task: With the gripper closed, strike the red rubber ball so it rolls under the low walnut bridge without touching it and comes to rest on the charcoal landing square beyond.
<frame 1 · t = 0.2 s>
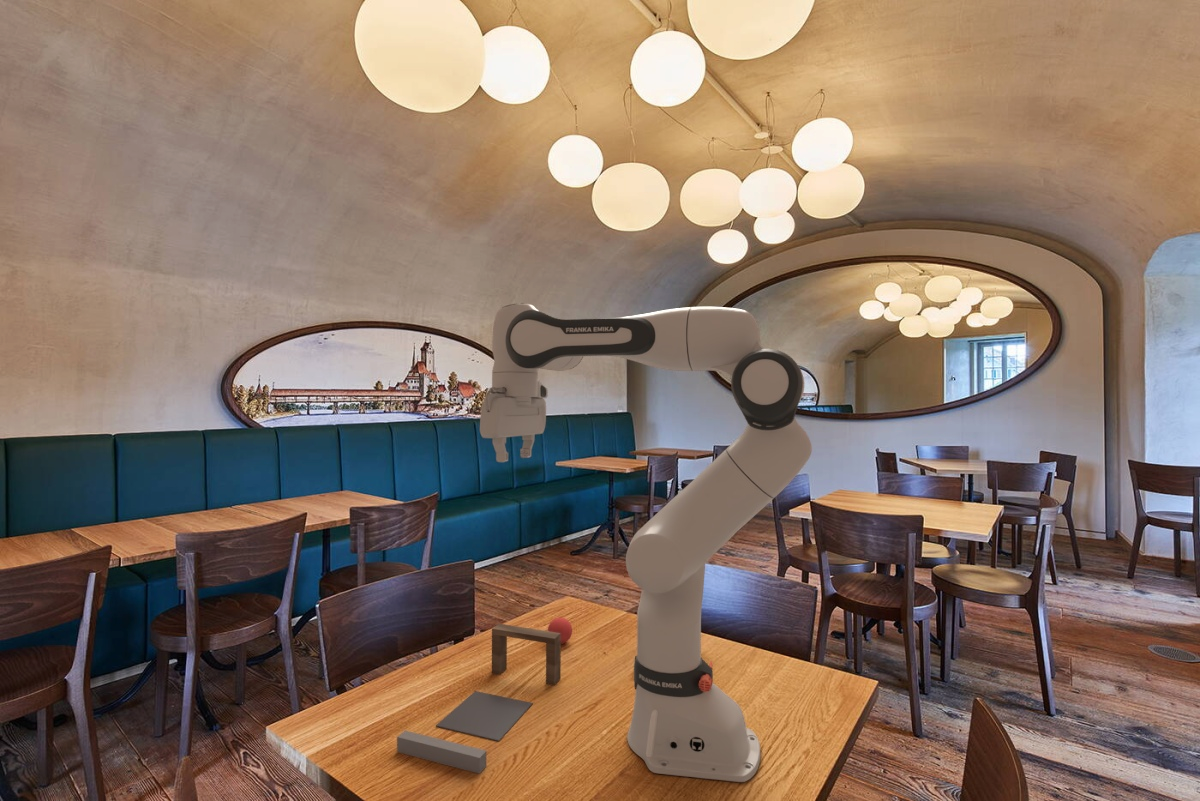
hand: (514, 459, 108), 48 cm above the table, tool pointing down, fingers open, 8 cm apart
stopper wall: (440, 758, 92), on the table
ball: (559, 630, 137), on the table
bridge: (525, 676, 120), on the table
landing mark: (486, 714, 105), on the table
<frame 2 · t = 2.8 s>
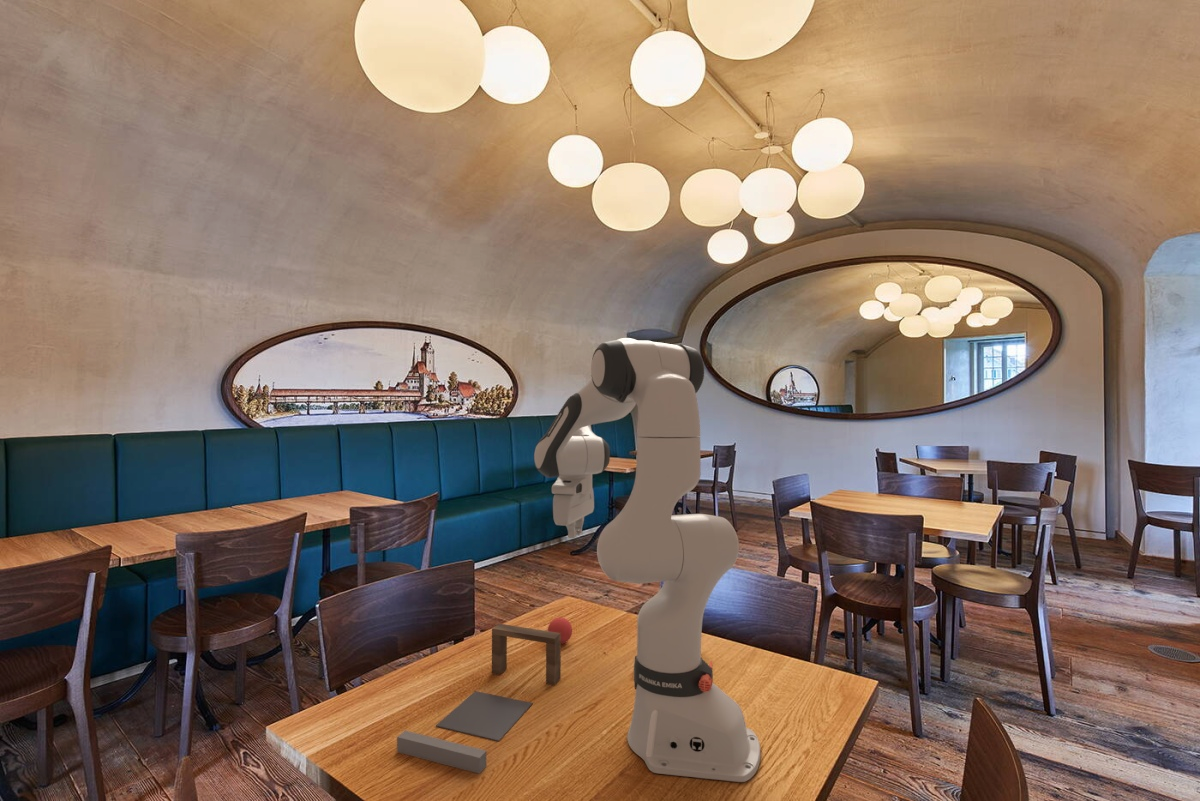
hand: (575, 536, 146), 24 cm above the table, tool pointing down, fingers open, 3 cm apart
nothing on the table moved.
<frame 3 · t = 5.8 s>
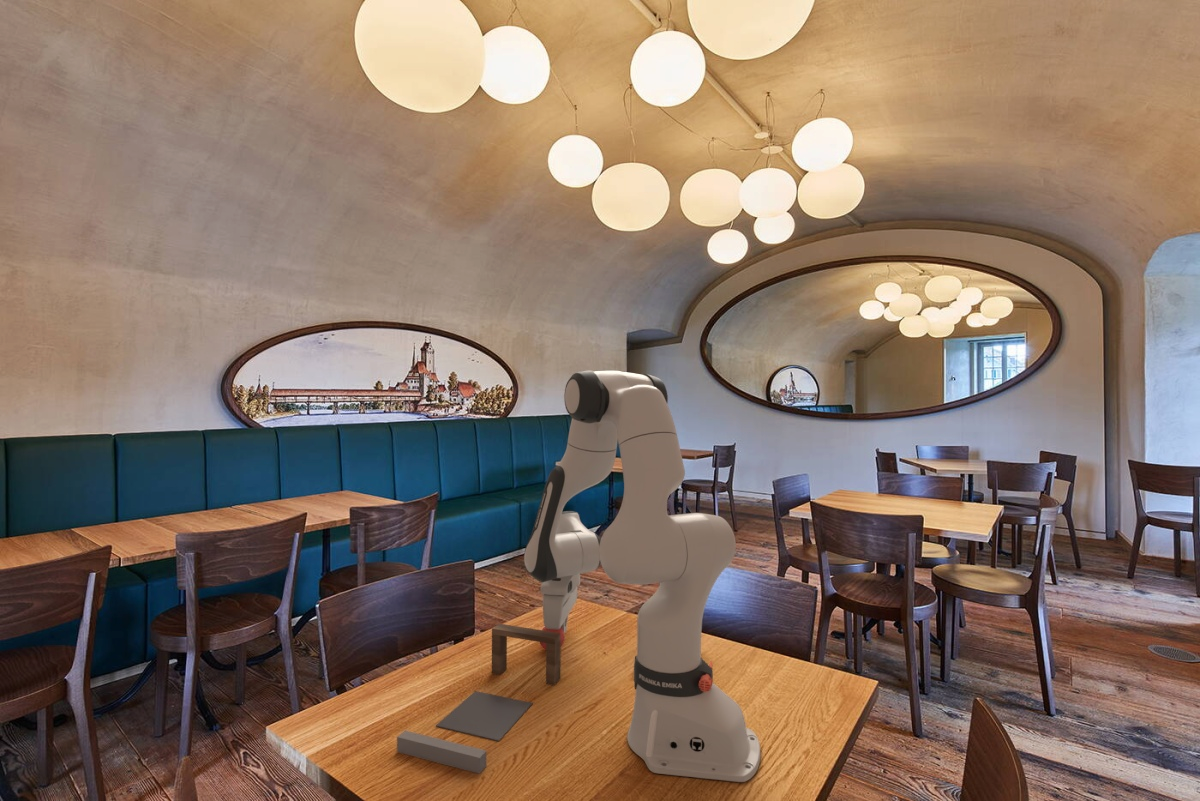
hand: (561, 633, 137), 2 cm above the table, tool pointing down, fingers closed
ball: (551, 637, 133), on the table
everything else where it was.
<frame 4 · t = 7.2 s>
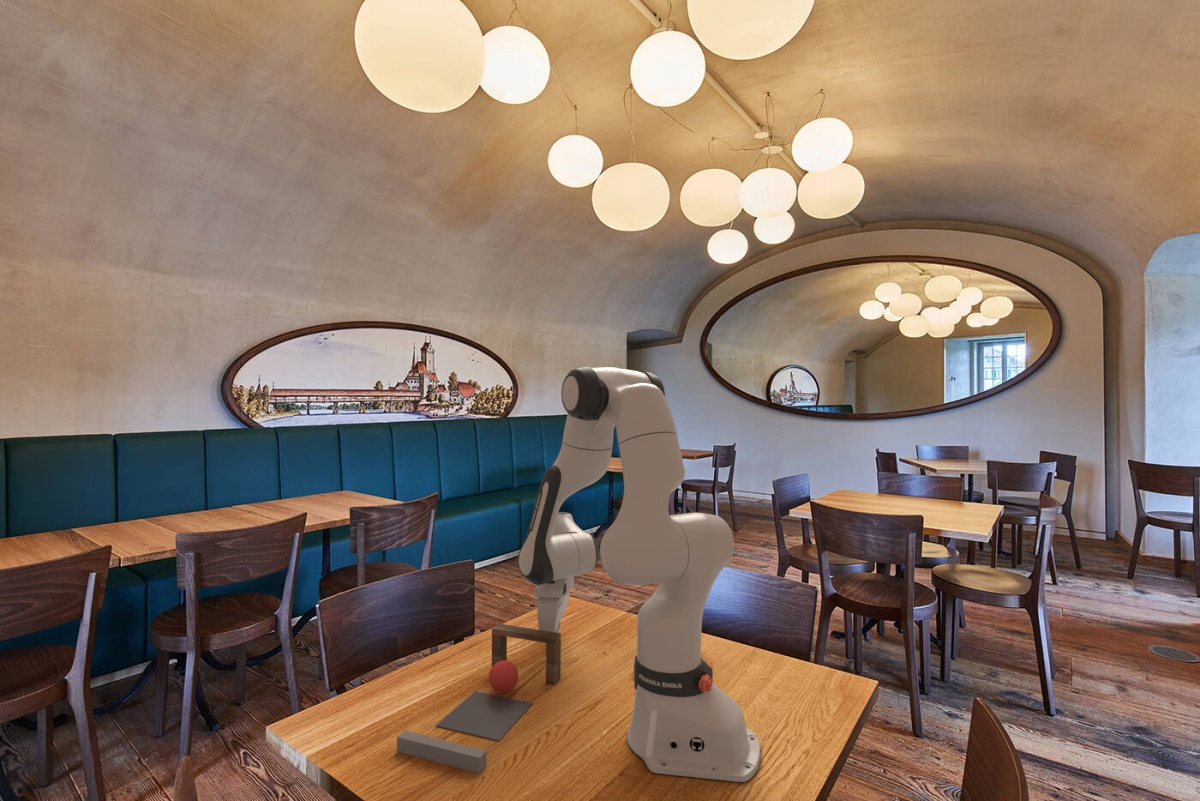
hand: (554, 637, 134), 3 cm above the table, tool pointing down, fingers closed
ball: (503, 676, 114), on the table
everything else where it was.
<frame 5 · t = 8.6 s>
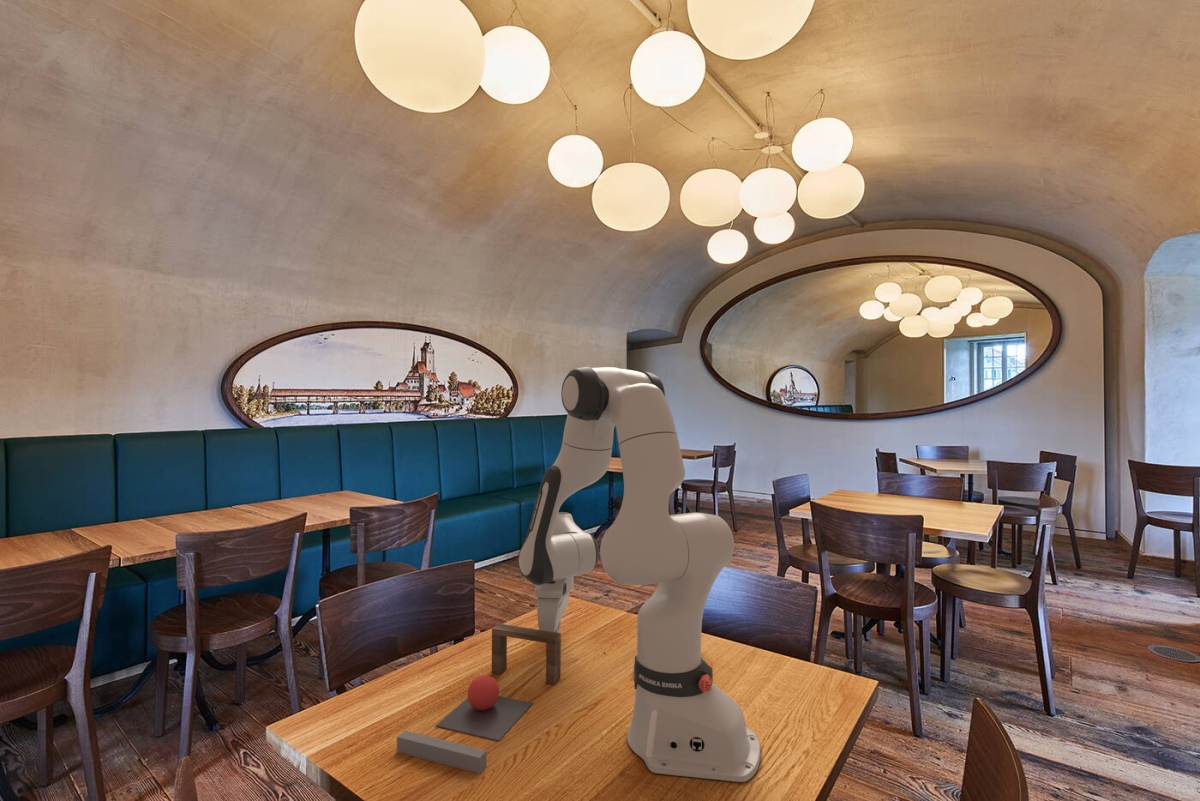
hand: (554, 637, 134), 3 cm above the table, tool pointing down, fingers closed
ball: (483, 692, 107), on the table
everything else where it was.
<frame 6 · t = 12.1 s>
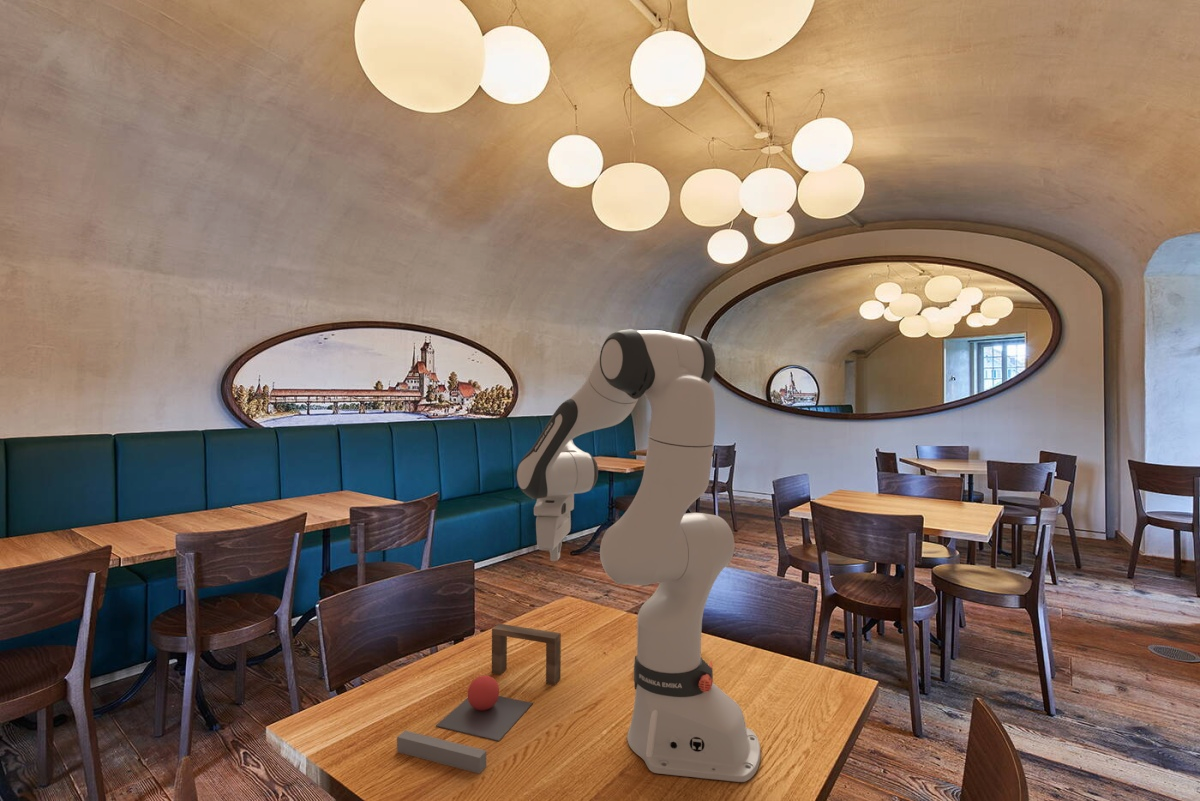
hand: (555, 559, 134), 21 cm above the table, tool pointing down, fingers closed
nothing on the table moved.
at the end: ball 2.4 cm from the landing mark (horizontally); ball never touched bridge; ball at rest at the end (0.0 cm/s) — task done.
